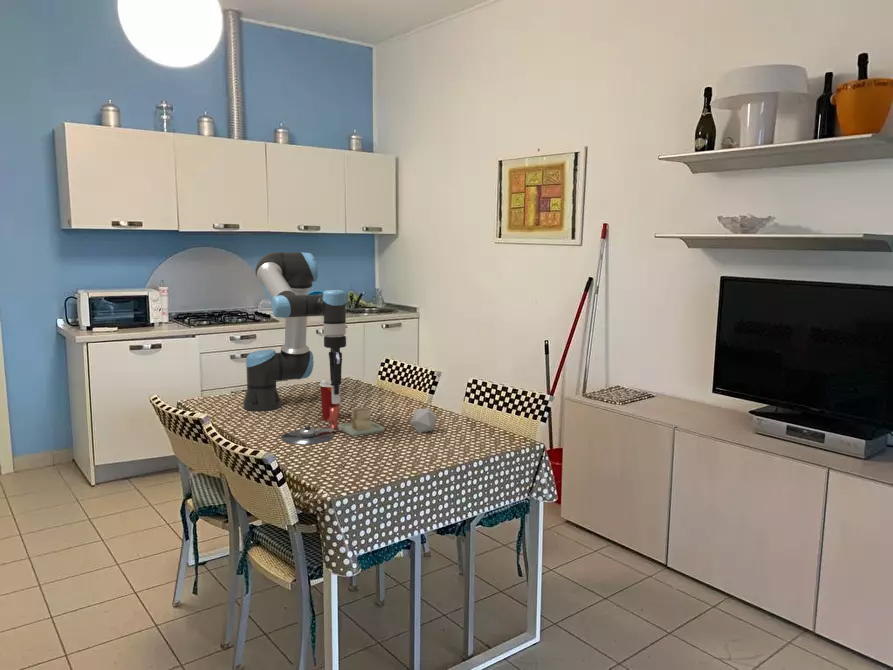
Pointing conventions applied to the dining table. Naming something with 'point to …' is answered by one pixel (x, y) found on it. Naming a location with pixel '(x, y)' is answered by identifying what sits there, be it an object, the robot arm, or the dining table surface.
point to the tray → (348, 429)
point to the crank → (332, 427)
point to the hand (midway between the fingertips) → (336, 403)
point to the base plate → (296, 438)
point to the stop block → (361, 419)
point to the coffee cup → (327, 399)
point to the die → (423, 420)
